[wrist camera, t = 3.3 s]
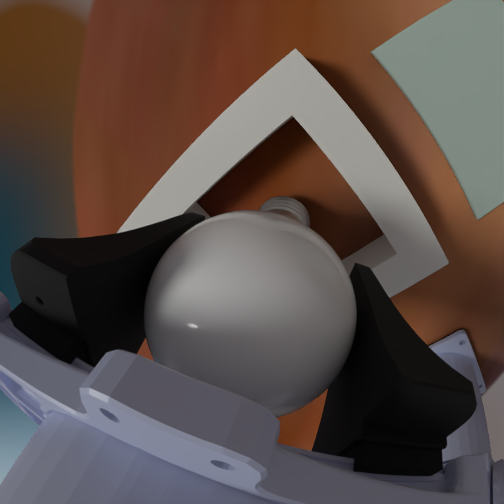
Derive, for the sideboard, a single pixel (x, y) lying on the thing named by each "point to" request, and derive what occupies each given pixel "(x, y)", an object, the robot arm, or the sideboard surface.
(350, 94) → the sideboard surface
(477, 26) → the mat
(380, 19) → the sideboard surface
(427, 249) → the bulb holder
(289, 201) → the lightbulb
